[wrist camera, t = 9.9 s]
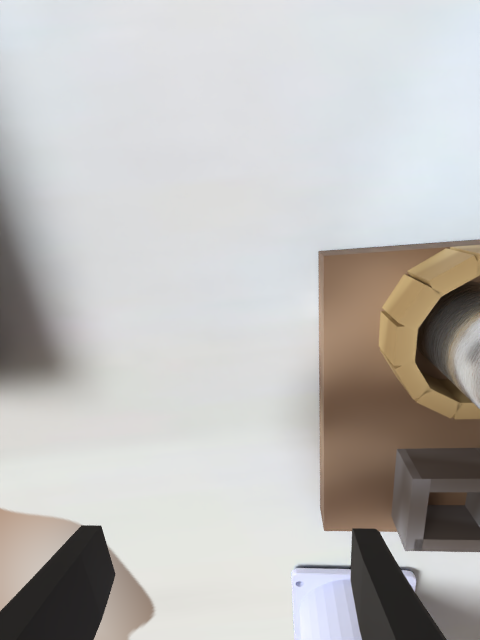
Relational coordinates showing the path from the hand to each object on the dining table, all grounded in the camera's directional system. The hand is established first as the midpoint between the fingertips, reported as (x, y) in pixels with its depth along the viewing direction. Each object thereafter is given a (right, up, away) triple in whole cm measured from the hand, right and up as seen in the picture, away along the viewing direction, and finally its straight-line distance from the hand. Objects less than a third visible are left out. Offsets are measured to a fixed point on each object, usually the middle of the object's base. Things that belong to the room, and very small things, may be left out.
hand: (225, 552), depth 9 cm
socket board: (+11, +3, +8) cm, 14 cm away
